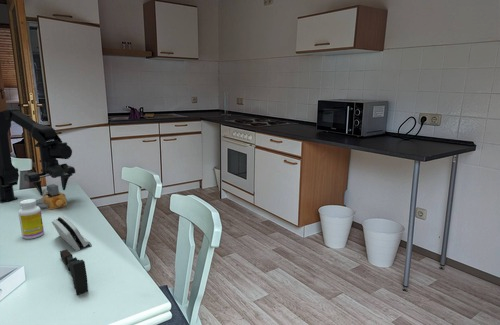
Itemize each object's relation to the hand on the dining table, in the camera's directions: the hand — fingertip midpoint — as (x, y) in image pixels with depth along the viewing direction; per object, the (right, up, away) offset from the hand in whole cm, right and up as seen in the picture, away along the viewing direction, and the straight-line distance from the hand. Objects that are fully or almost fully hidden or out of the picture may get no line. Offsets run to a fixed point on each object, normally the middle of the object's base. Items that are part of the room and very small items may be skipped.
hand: (53, 192), depth 153 cm
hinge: (+24, -14, -33) cm, 43 cm away
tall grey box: (0, -5, +1) cm, 5 cm away
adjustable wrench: (+35, -19, -52) cm, 66 cm away
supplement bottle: (+8, -13, -28) cm, 32 cm away
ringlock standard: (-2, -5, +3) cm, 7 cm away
